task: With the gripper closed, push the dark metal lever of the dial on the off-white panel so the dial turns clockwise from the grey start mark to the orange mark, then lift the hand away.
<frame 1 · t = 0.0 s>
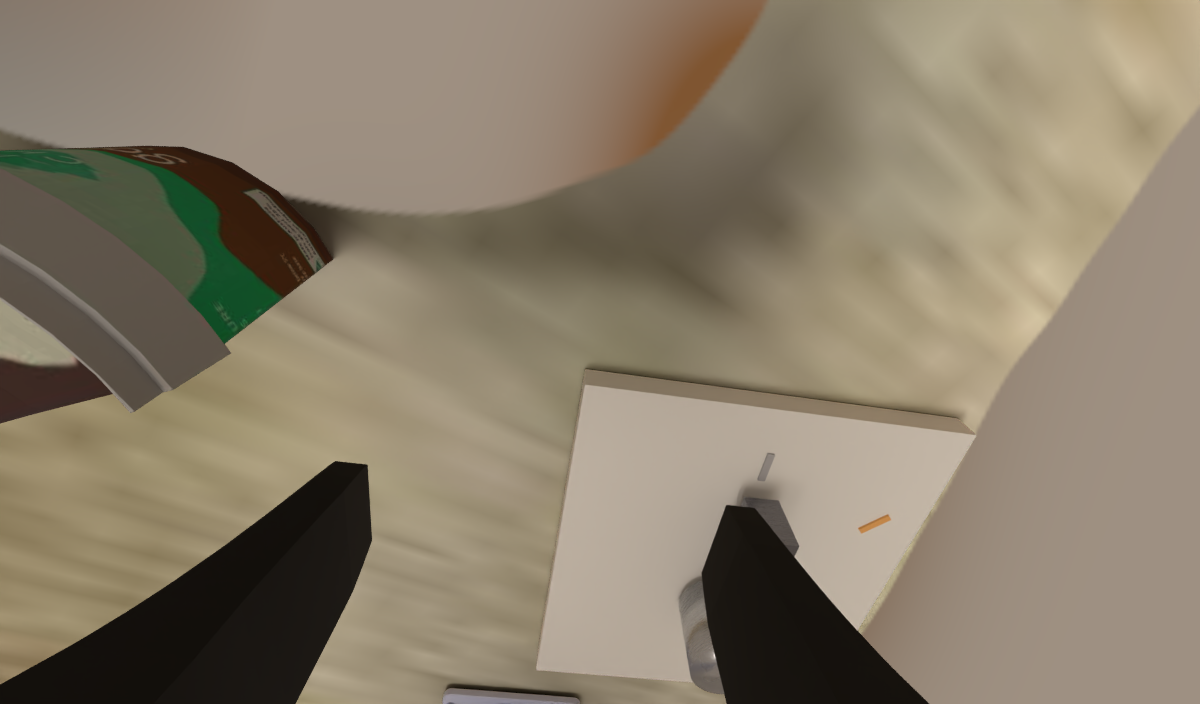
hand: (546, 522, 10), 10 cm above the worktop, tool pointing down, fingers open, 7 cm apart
food container: (167, 206, 17), on the worktop
dial lever: (739, 596, 22), point 3 cm above the worktop, hinge at 0.0°
dial panel: (719, 548, 25), on the worktop
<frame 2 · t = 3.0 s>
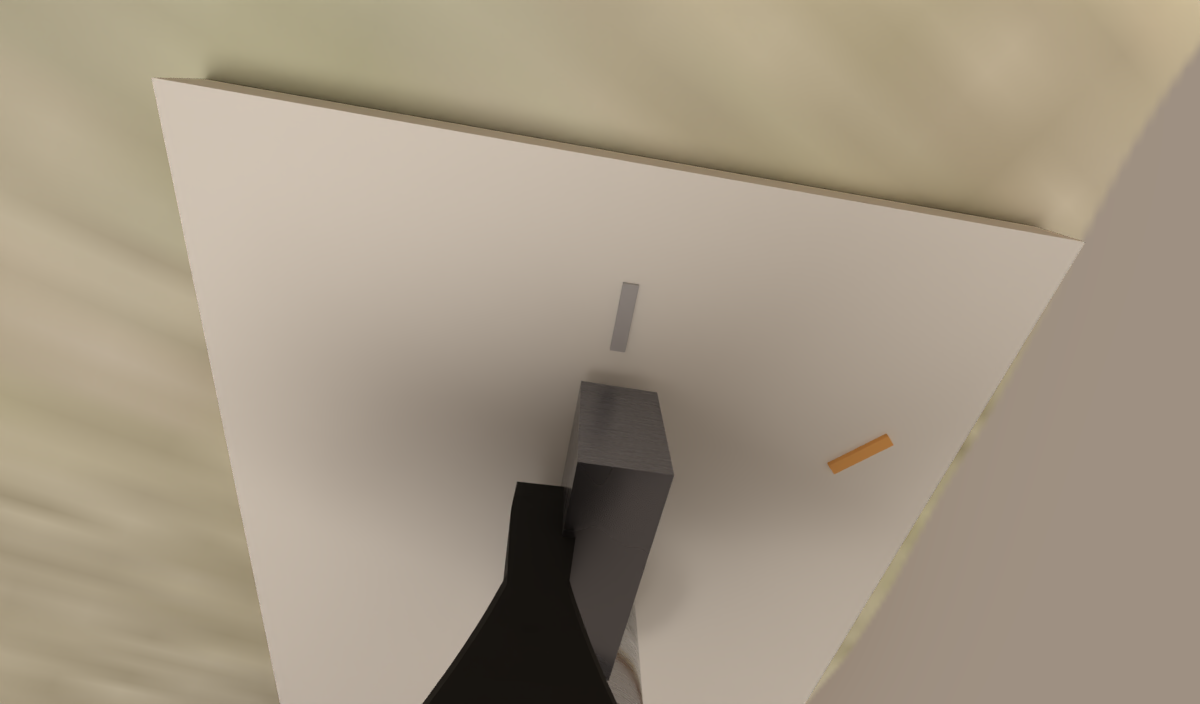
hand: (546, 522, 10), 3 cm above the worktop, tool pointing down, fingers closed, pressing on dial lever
dial lever: (580, 596, 11), point 3 cm above the worktop, hinge at -0.9°, touching gripper
dial panel: (578, 509, 14), on the worktop
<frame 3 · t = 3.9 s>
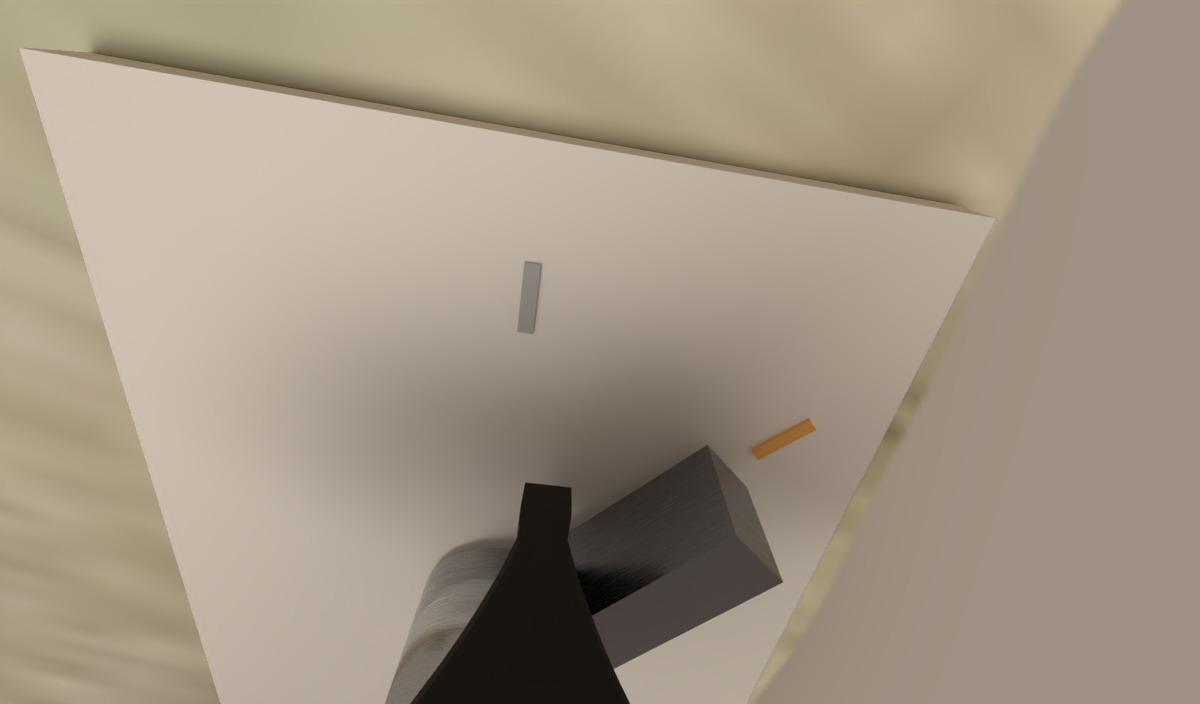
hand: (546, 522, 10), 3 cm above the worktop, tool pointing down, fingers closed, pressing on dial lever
dial lever: (569, 611, 11), point 3 cm above the worktop, hinge at -40.7°, touching gripper
dial panel: (511, 497, 14), on the worktop
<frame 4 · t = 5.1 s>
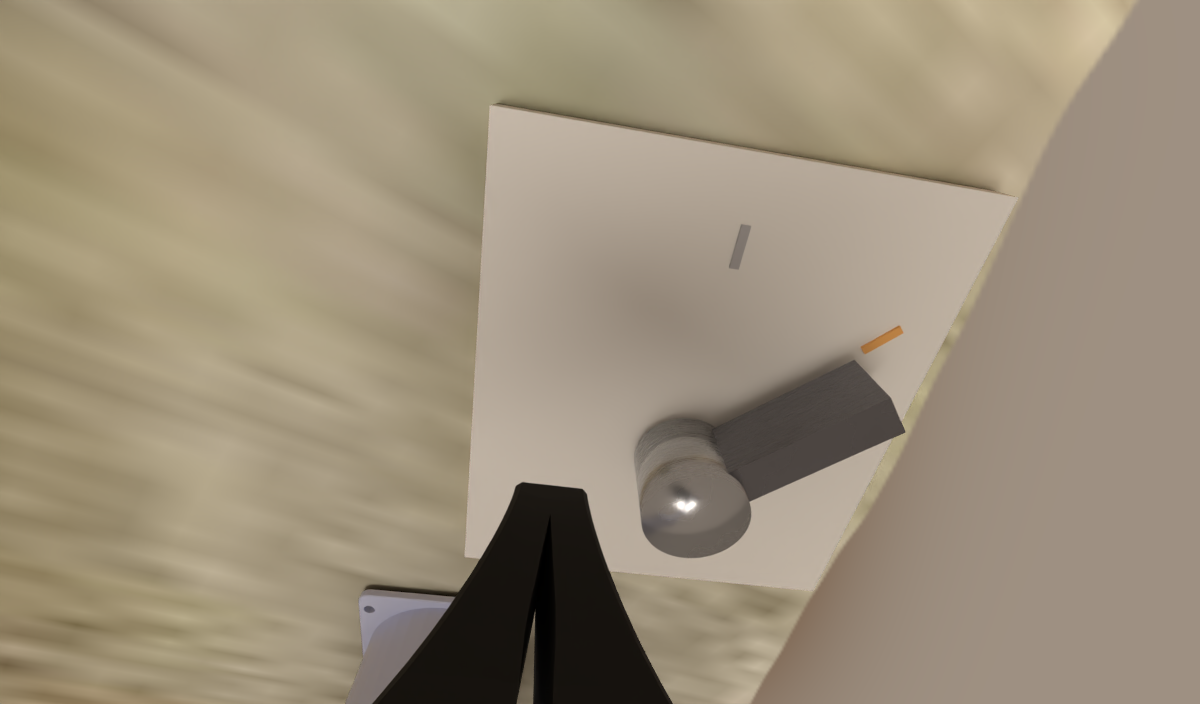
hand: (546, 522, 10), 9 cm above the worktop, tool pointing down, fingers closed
dial lever: (755, 454, 18), point 3 cm above the worktop, hinge at -48.9°
dial panel: (686, 392, 20), on the worktop
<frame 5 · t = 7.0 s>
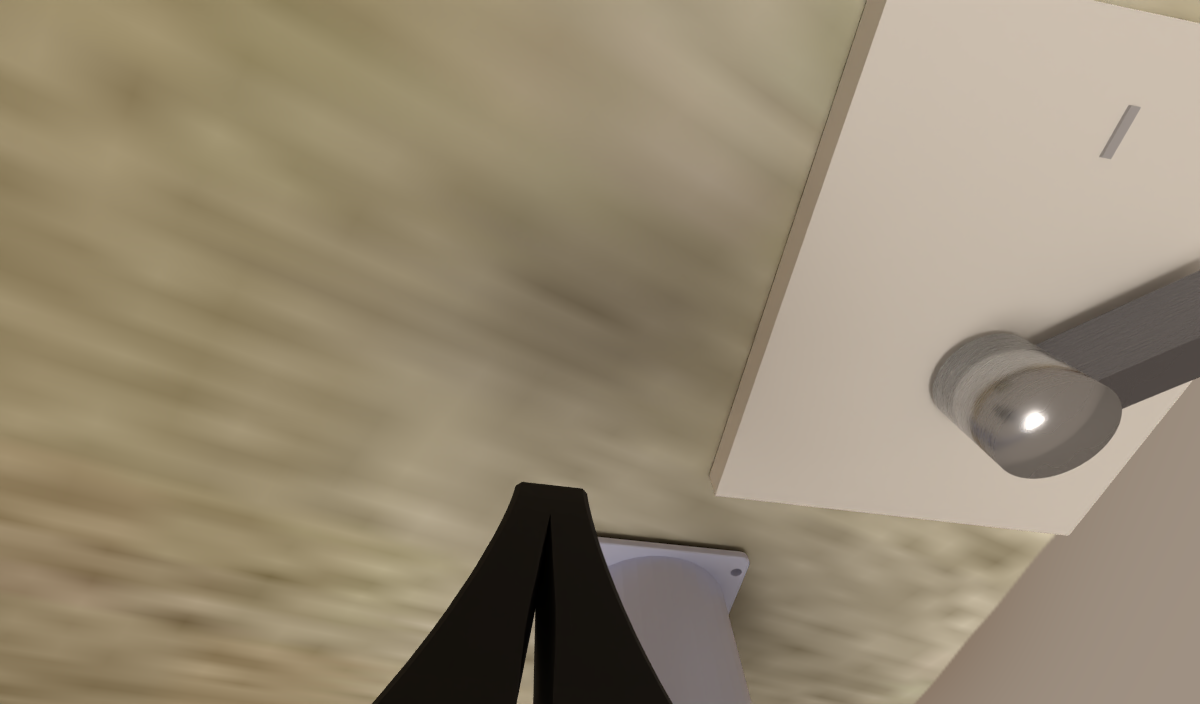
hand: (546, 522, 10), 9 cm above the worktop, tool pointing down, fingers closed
dial lever: (1102, 366, 16), point 3 cm above the worktop, hinge at -49.2°
dial panel: (983, 311, 19), on the worktop
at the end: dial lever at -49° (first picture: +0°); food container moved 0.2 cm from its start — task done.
